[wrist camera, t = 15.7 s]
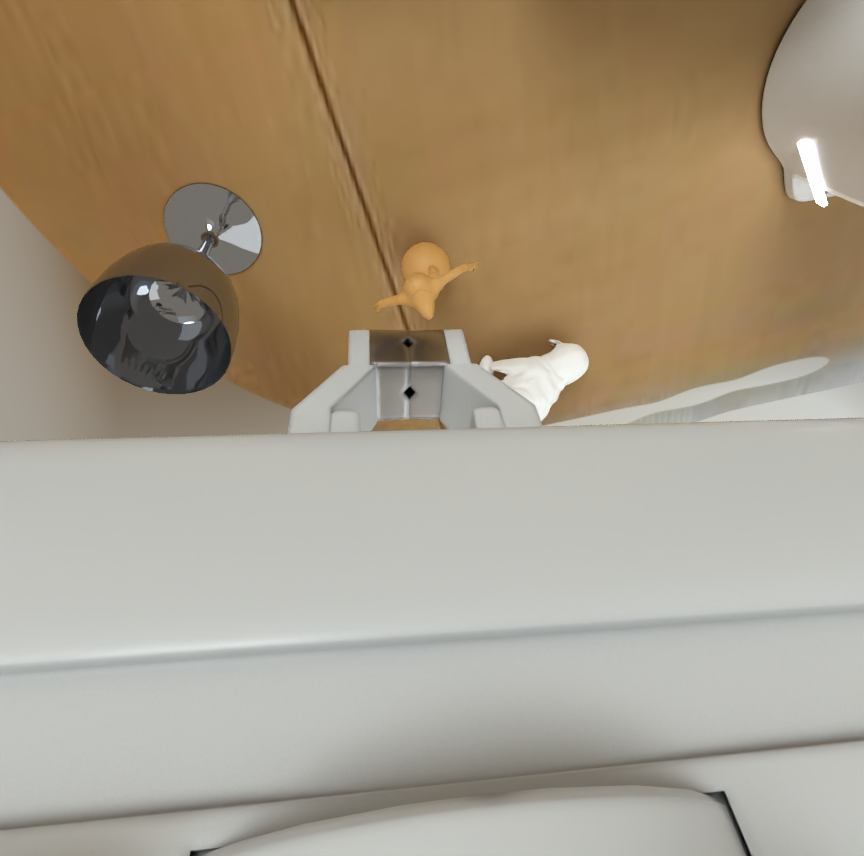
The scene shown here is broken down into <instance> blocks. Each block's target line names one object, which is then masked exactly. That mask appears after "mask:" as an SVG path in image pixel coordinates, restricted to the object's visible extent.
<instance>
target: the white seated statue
mask: <svg viewBox="0 0 864 856" xmlns="http://www.w3.org/2000/svg"><path fill="white" fill-rule="evenodd" d="M549 340H551V341H550V342H553V344H557V345H556V346H555V348H554V349H553V350H552V351H551V352H549V353H547V354H545V355H542V356H541V357H540V356H531V357H529V358H513V359H506V360H499V361H495V362H493V360H492V358H491V357H490V356H489V355H486V356H485V357H483V358H482V360H481V362H480V365H479V366H481V367H482V368H483V369H485V370H486V371H488V372H489V373H491V374H492V375H493V373H494V371H499V372H502V373H505V374H507V376H506V377H504V380H500V381H502V382H503V383H505V384H506V385H508V386H509V387H510V388H512V389H513V390H515V391H516V392H518V393H519V394H520V395H522V396H523V397H525V398H526V399H527V400H529V401H530V402H532V403H533V404H535V406H536V409H537V412H538V414H539V417H540V420H541V421H542V420H543V419H544V418H545V417H546V416H547V414H548V412H549V410H550V407H551V406H552V404H553V403H554V402H556V401H557V399H558V396H559V393H560V392H561V391H562V390H563V389H564V387H565V385H568V384H570V383H572V382H574V381H576V380H577V379H578V378H580V377H581V376H582V375H583V374H584V373H585V372H586V370H587V368H588V364H589V360H588V356H587V354H586V352H585V350H584V349H583V348H582V347H581V346H580V345H576V344H573V343H562V342H560V341H557V340H552V339H549ZM553 344H552V345H553Z"/></svg>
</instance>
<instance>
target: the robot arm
mask: <svg viewBox="0 0 864 856" xmlns="http://www.w3.org/2000/svg"><path fill="white" fill-rule="evenodd" d="M762 124H763V130H764V134H765V137H766V140H767V143H768V145H769V147H770V148H771V150H772V151H773V153H774V154H775V155H776V157H777V158H778V159H779V161H780V162H781V164H782V166H783V168H784V184H785V191H786V194H787V196H788V197H789V198H791V199H794V200H797V201H800V202H805V201H811V200H815V201H816V203H817V204H819V205H821V206H823V207H825V206H826V205H828V203H827V200H826V198H827V197H833V196H839V197H841V198H843V199H846V200H848V201H850V202H853V203H855V204H858V205H860V206H862V207H864V0H806V2H805V3H804V4H803V6H802V7H801V9H800V10H799V12H798V13H797V15H796V16H795V18H794V19H793V21H792V23H791V24H790V26H789V28H788V30H787V31H786V33H785V35H784V37H783V39H782V41H781V43H780V45H779V47H778V49H777V51H776V54H775V56H774V59H773V61H772V64H771V67H770V70H769V73H768V76H767V80H766V84H765V88H764V94H763V101H762ZM401 419H440V421H441V422H442V423H443V424H444V425H445V427H446V428H447V429H434V430H397V431H371V430H372V429H373V428H374V426H375V425H376V423H377V421H382V420H401ZM0 856H864V418H840V419H839V418H838V419H806V420H805V419H804V420H768V421H734V422H733V421H730V422H692V423H655V424H619V425H582V426H581V425H580V426H544V427H543V425H542V423H541V420H540V417H539V414H538V412H537V409H536V406H535V404H533V403H532V402H530V401H529V400H527V399H526V398H525V397H523V396H522V395H520V394H519V393H518V392H516V391H515V390H513V389H512V388H510V387H509V386H508V385H506V384H505V383H503V382H502V381H500V380H499V379H498V378H496V377H495V376H493V375H492V374H491V373H489V372H488V371H486V370H485V369H483V368H482V367H481V366H479V365H478V364H476V363H475V364H471V360H470V356H469V353H468V349H467V345H466V341H465V337H464V334H463V330H461V329H449V330H423V331H407V330H370V339H369V330H350V332H349V353H348V365H343V366H341V367H340V368H339V369H338V370H337V371H336V372H335V373H333V374H332V375H331V376H330V377H329V378H328V379H326V380H325V381H324V382H323V383H322V384H321V385H320V386H318V387H317V388H316V389H315V390H314V391H313V392H311V393H310V394H309V395H308V396H307V397H306V398H305V399H303V400H302V401H301V402H300V403H299V404H298V405H296V406H295V407H294V408H293V409H292V410H291V417H290V423H289V429H288V433H287V434H254V435H253V434H250V435H215V436H214V435H212V436H177V437H142V438H140V437H138V438H101V439H64V440H30V441H29V440H27V441H0Z"/></svg>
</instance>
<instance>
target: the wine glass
mask: <svg viewBox="0 0 864 856" xmlns="http://www.w3.org/2000/svg"><path fill="white" fill-rule="evenodd" d="M164 224H165V229H166V232H167V235H168V237H169V239H170V241H171V243H167V242H162V243H156V244H150V245H146V246H143V247H140V248H138V249H136V250H133V251H131V252H129V253H128V254H126V255H124V256H123V257H121V258H120V259H118V260H117V261H116V262H114V263H113V264H111V265H110V266H109V267H108V268H107V269H106V270H105V271H104V272H103V273H102V274H101V275H100V276H99V277H98V278H97V280H96V281H95V282H94V283H93V284H92V285H91V287H90V288H89V289H88V291H87V292H86V293H85V295H84V297H83V299H82V301H81V303H80V305H79V309H78V313H77V321H78V328H79V331H80V335H81V338H82V339H83V341H84V344H85V346H86V347H87V348H88V350H89V351H90V353H91V354H92V355H93V357H95V359H96V360H97V361H98V362H99V363H100V364H101V365H102V366H103V367H105V368H106V369H107V370H108V371H110V372H111V373H112V374H114V375H116V376H117V377H119V378H120V379H122V380H124V381H126V382H128V383H130V384H132V385H134V386H137V387H140V388H143V389H146V390H149V391H154V392H158V393H166V394H186V393H192V392H197V391H200V390H203V389H205V388H207V387H209V386H211V385H213V384H214V383H215V382H217V381H218V380H219V379H220V378H221V377H222V376H223V375H224V373H225V372H226V370H227V368H228V366H229V364H230V362H231V359H232V356H233V353H234V350H235V345H236V341H237V336H238V331H239V306H238V299H237V295H236V292H235V289H234V287H233V284H232V282H231V280H230V278H229V277H228V275H227V274H233V273H237V272H240V271H243V270H245V269H246V268H248V267H249V266H250V265H251V264H253V263H254V261H255V260H256V259H257V257H258V255H259V253H260V250H261V245H262V234H261V228H260V226H259V223H258V220H257V218H256V217H255V215H254V213H253V212H252V210H251V209H250V208H249V206H248V205H247V204H246V203H245V202H244V201H243V200H242V199H241V198H239V197H238V196H237V195H235V194H234V193H232V192H231V191H229V190H227V189H225V188H222V187H220V186H217V185H213V184H208V183H196V184H190V185H187V186H184V187H182V188H180V189H179V190H177V191H176V192H175V193H174V194H173V195H172V196H171V197H170V199H169V200H168V202H167V204H166V207H165V211H164Z"/></svg>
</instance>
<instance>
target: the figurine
mask: <svg viewBox="0 0 864 856" xmlns="http://www.w3.org/2000/svg"><path fill="white" fill-rule="evenodd" d="M477 267H478V261H476V262H475V263H473V264H472V263H470V264H463V265H461V266H458V267H456V268H453V269H452V270H450V262H449V258H448V256H447V254H446V253H445V251H444V250H443V249H442V248H441V247H439V246H438V245H436V244H434V243H430V242H421V243H418V244H415V245H413V246H412V247H411V248H409V249H408V250H407V252H406V253H405V255H404V257H403V259H402V263H401V272H402V276H403V279H404V281H405V282H404V285H403V288H402V291H401V292H400V293H399V294H398V295H396V296H392V297H389V298H385V299H383V300H380V301H378V302H377V303H376V304H375V305H374V306H373V307H372V309H373V310H374V311H376V312H382V311H380V309H381V308H383V307H390V306H394V305H408V306H411V307H414V308H415V309H416V310H417V311H418V312H419V313H420V314H421V315H422V316H423V317H424V318H425V319H432V317H433V315H434V304H435V299H436V298H437V297H438V295H439V291H440V290H442V289H443V288H444V285H445V284H447V283H448V282H450V281H452V280H453V279H454V278H456V277H457V276H458V275H460V274H461V273H463V272H465V271H471V270H473V272H475V270H476V269H477Z"/></svg>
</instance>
